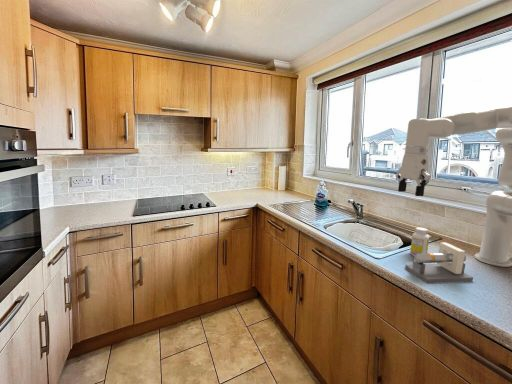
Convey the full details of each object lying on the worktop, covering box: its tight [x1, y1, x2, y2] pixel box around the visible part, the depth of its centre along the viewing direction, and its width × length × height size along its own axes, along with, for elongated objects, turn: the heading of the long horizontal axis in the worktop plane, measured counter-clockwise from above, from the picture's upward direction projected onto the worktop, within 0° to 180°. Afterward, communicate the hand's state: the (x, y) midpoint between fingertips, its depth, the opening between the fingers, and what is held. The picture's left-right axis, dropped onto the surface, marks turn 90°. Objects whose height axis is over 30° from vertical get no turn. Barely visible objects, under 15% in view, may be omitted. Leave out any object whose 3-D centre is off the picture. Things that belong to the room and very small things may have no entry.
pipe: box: [412, 252, 467, 274], centre depth 105 cm, size 19×4×7 cm, turn 97°
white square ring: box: [436, 242, 466, 274], centre depth 105 cm, size 2×9×9 cm, turn 7°
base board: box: [404, 263, 474, 284], centre depth 106 cm, size 19×12×2 cm, turn 97°
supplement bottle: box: [410, 226, 430, 257], centre depth 123 cm, size 7×7×13 cm
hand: (410, 193), depth 109 cm, fingers open, 9 cm apart
